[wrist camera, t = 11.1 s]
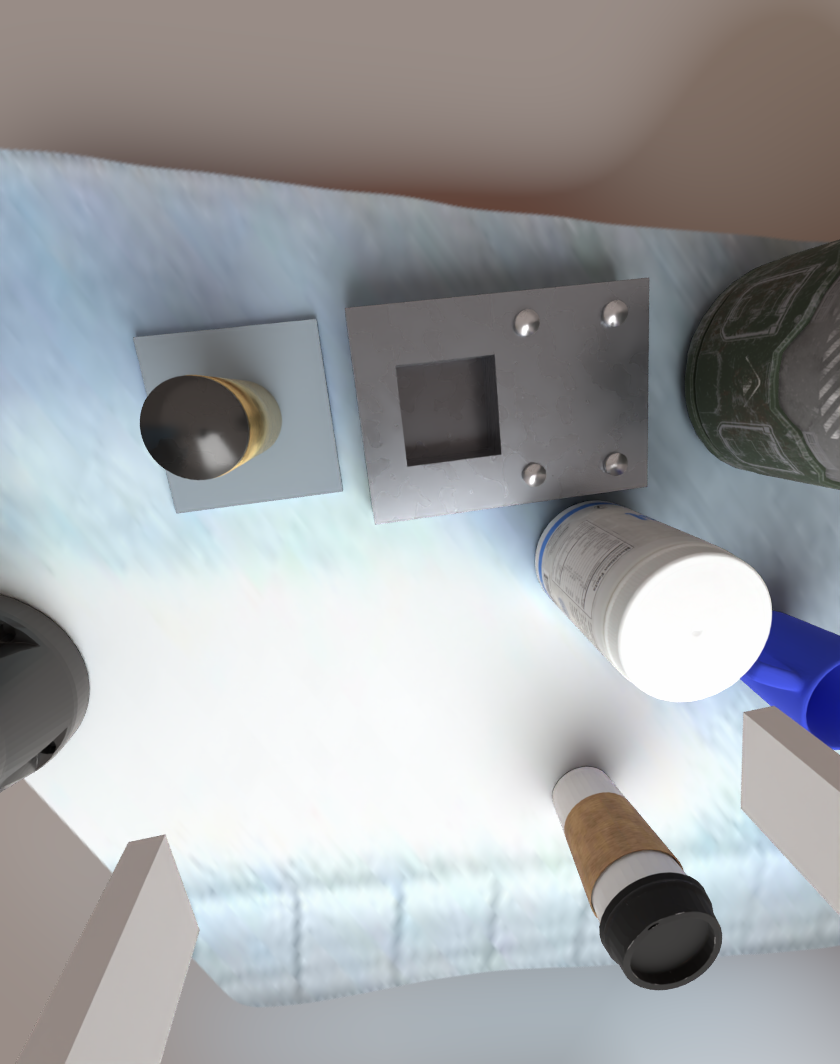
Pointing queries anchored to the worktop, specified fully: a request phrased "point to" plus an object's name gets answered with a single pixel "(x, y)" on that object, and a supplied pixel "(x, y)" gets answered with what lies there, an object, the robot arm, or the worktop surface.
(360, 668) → the worktop surface
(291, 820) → the worktop surface
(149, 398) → the cylinder
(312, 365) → the mat
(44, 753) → the robot arm
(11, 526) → the worktop surface
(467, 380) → the housing
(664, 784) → the worktop surface
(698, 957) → the coffee cup
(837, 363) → the canister
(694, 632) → the supplement tub
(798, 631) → the mug
